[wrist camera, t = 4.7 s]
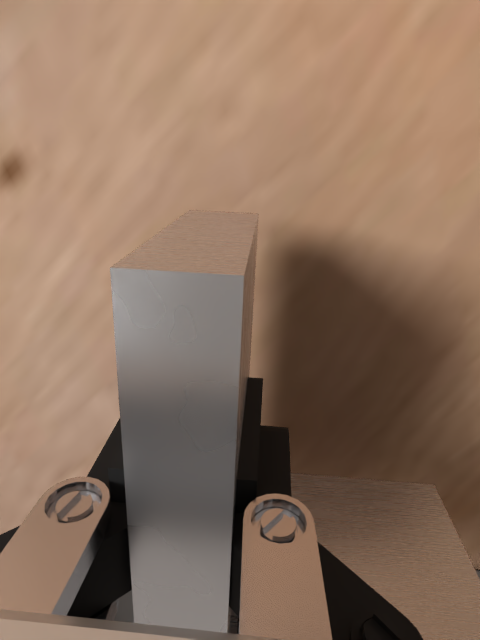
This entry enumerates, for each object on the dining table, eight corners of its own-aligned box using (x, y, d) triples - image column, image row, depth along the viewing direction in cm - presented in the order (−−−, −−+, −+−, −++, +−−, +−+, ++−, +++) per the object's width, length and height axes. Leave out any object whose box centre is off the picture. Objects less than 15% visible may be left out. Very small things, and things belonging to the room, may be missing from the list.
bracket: (189, 210, 11) (110, 267, 6) (500, 226, 11) (731, 304, 5) (189, 506, 15) (140, 715, 10) (423, 527, 15) (514, 758, 9)
